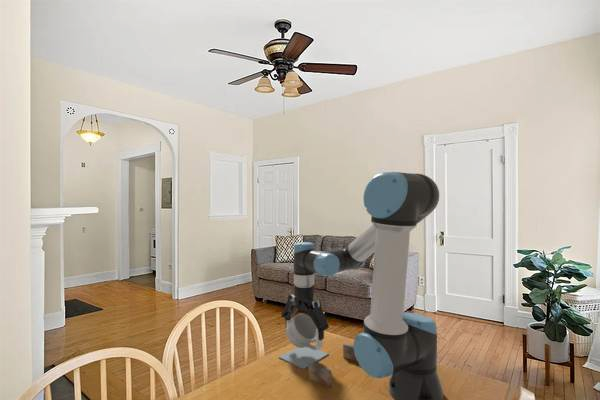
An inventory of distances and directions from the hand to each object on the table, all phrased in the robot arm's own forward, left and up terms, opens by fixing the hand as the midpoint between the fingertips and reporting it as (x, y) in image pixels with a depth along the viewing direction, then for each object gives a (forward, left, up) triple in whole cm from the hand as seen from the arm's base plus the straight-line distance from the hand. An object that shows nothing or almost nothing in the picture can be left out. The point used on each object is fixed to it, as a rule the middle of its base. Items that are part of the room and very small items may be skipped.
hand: (303, 343), depth 123 cm
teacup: (+3, +1, 0) cm, 3 cm away
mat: (0, 0, -5) cm, 5 cm away
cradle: (-15, 0, -5) cm, 16 cm away
